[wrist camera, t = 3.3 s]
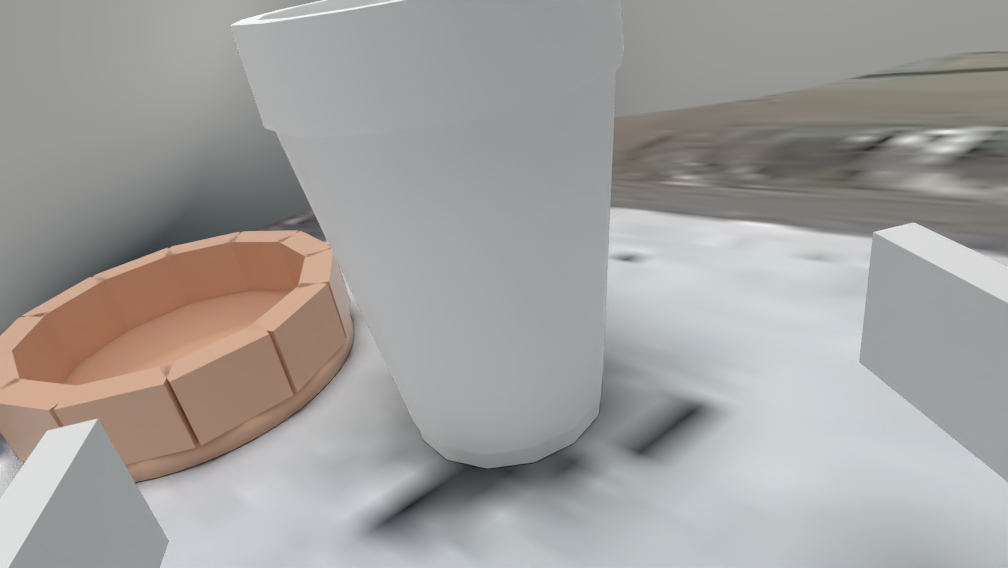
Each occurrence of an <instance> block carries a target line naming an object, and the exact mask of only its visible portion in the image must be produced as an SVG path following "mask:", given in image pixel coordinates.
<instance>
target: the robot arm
mask: <svg viewBox="0 0 1008 568" xmlns="http://www.w3.org/2000/svg"><path fill="white" fill-rule="evenodd" d="M859 362H860V363H861V364H862V365H864V366H865V367H866V368H867V369H869V370H870V371H871V372H872V373H874V374H875V375H876V376H877V377H878V378H880V379H881V380H882V381H883V382H885V383H886V384H887V385H888V386H890V387H891V388H892V389H893V390H895V391H896V392H897V393H898V394H900V395H901V396H902V397H903V398H904V399H906V400H907V401H908V402H909V403H911V404H912V405H913V406H914V407H916V408H917V409H918V410H919V411H921V412H922V413H923V414H924V415H926V416H927V417H928V418H929V419H930V420H932V421H933V422H934V423H935V424H937V425H938V426H939V427H940V428H942V429H943V430H944V431H945V432H947V433H948V434H949V435H950V436H951V437H953V438H954V439H955V440H956V441H958V442H959V443H960V444H961V445H963V446H964V447H965V448H966V449H968V450H969V451H970V452H971V453H973V454H974V455H975V456H976V457H977V458H979V459H980V460H981V461H982V462H984V463H985V464H986V465H987V466H989V467H990V468H991V469H992V470H994V471H995V472H996V473H997V474H999V475H1000V476H1001V477H1002V478H1003V479H1005V480H1006V481H1007V482H1008V267H1007V266H1005V265H1003V264H1001V263H999V262H997V261H994V260H992V259H990V258H988V257H986V256H984V255H982V254H980V253H978V252H975V251H973V250H971V249H969V248H967V247H965V246H963V245H961V244H958V243H956V242H954V241H952V240H950V239H948V238H946V237H944V236H941V235H939V234H937V233H935V232H933V231H931V230H929V229H927V228H924V227H922V226H920V225H918V224H916V223H909V224H905V225H901V226H897V227H893V228H889V229H884V230H880V231H876V232H873V241H872V250H871V259H870V268H869V277H868V287H867V296H866V305H865V314H864V324H863V333H862V342H861V351H860V360H859ZM168 542H169V540H168V539H167V537H166V535H165V534H164V532H163V530H162V528H161V527H160V525H159V523H158V521H157V520H156V518H155V516H154V515H153V513H152V511H151V509H150V508H149V506H148V504H147V502H146V501H145V499H144V497H143V496H142V494H141V492H140V490H139V489H138V487H137V485H136V483H135V482H134V480H133V478H132V477H131V475H130V473H129V471H128V470H127V468H126V466H125V464H124V463H123V461H122V459H121V458H120V456H119V454H118V452H117V451H116V449H115V447H114V445H113V444H112V442H111V440H110V439H109V437H108V435H107V433H106V432H105V430H104V428H103V426H102V425H101V423H100V421H99V420H98V419H94V420H90V421H85V422H81V423H77V424H73V425H69V426H65V427H60V428H56V429H52V430H48V431H47V432H46V433H45V434H44V436H43V437H42V439H41V440H40V442H39V443H38V445H37V446H36V447H35V449H34V450H33V452H32V453H31V455H30V456H29V457H28V459H27V460H26V462H25V463H24V465H23V466H22V468H21V469H20V470H19V472H18V473H17V475H16V476H15V478H14V479H13V481H12V482H11V483H10V485H9V486H8V488H7V489H6V491H5V492H4V494H3V495H2V496H1V498H0V568H160V565H161V562H162V559H163V556H164V553H165V550H166V548H167V545H168Z"/></svg>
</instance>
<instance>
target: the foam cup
mask: <svg viewBox="0 0 1008 568" xmlns="http://www.w3.org/2000/svg"><path fill="white" fill-rule="evenodd" d="M230 28H231V30H232V33H233V36H234V39H235V42H236V45H237V48H238V51H239V54H240V57H241V60H242V63H243V66H244V69H245V72H246V75H247V78H248V81H249V84H250V87H251V90H252V93H253V96H254V98H255V102H256V105H257V108H258V110H259V113H260V116H261V119H262V122H263V125H264V128H266V129H269V130H273V131H275V132H276V134H277V136H278V138H279V140H280V142H281V145H282V147H283V149H284V151H285V153H286V155H287V157H288V159H289V161H290V163H291V166H292V168H293V170H294V172H295V174H296V176H297V178H298V180H299V182H300V184H301V187H302V188H303V191H304V192H305V195H306V197H307V199H308V201H309V203H310V205H311V208H312V210H313V212H314V214H315V216H316V218H317V220H318V222H319V224H320V226H321V228H322V231H323V233H324V235H325V237H326V239H327V241H328V243H329V245H330V247H331V249H332V252H333V254H334V256H335V258H336V260H337V262H338V264H339V266H340V268H341V270H342V272H343V275H344V277H345V279H346V281H347V283H348V285H349V287H350V289H351V291H352V293H353V296H354V298H355V300H356V302H357V304H358V306H359V308H360V310H361V312H362V314H363V317H364V319H365V321H366V323H367V325H368V327H369V329H370V331H371V333H372V335H373V337H374V340H375V342H376V344H377V346H378V348H379V350H380V352H381V354H382V356H383V358H384V361H385V363H386V365H387V367H388V369H389V371H390V373H391V375H392V377H393V379H394V382H395V384H396V386H397V388H398V390H399V392H400V394H401V396H402V398H403V400H404V402H405V405H406V407H407V409H408V411H409V413H410V415H411V417H412V419H413V421H414V423H415V425H416V426H417V427H418V428H419V429H420V432H421V435H422V439H423V440H424V441H425V442H426V443H428V444H429V445H430V446H431V447H432V448H434V449H435V450H436V451H437V452H438V453H440V454H441V455H442V456H443V457H444V458H446V459H447V460H451V461H455V462H460V463H464V464H469V465H473V466H478V467H483V468H487V469H488V468H495V467H503V466H511V465H518V464H526V463H533V462H536V461H538V460H540V459H542V458H544V457H546V456H548V455H550V454H552V453H554V452H557V451H559V450H561V449H563V448H565V447H567V446H569V445H571V444H573V443H575V442H576V441H577V439H578V438H579V437H580V436H581V435H582V434H583V432H584V431H585V430H586V429H587V428H588V427H589V426H590V424H591V423H592V422H593V421H594V420H595V419H596V418H597V416H598V415H599V407H600V400H601V392H602V377H603V365H604V341H605V317H606V293H607V269H608V245H609V221H610V198H611V174H612V150H613V126H614V101H615V100H614V99H615V78H616V69H618V68H619V67H620V64H621V60H622V57H623V53H624V43H623V29H622V15H621V3H620V0H322V1H318V2H314V3H309V4H304V5H300V6H296V7H290V8H286V9H282V10H277V11H274V12H270V13H266V14H262V15H258V16H255V17H250V18H247V19H243V20H240V21H238V22H236V23H234V24H232V25H230Z"/></svg>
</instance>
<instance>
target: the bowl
mask: <svg viewBox="0 0 1008 568" xmlns="http://www.w3.org/2000/svg"><path fill="white" fill-rule="evenodd" d="M349 312H350V298H349V295H348V292H347V289H346V285H345V282H344V279H343V276H342V273H341V270H340V266H339V264H338V262H337V260H336V258H335V256H334V254H333V252H332V249H331V247H330V245H328V244H326V243H324V242H322V241H320V240H318V239H316V238H314V237H312V236H310V235H308V234H306V233H304V232H302V231H300V232H299V231H243V232H242V233H240V232H236V233H232V234H227V235H223V236H218V237H213V238H209V239H205V240H200V241H195V242H190V243H186V244H181V245H177V246H172V247H171V248H170V249H168V248H166V249H163V250H160V251H158V252H155V253H152V254H150V255H147V256H144V257H142V258H139V259H136V260H134V261H131V262H129V263H126V264H123V265H120V266H118V267H115V268H112V269H110V270H107V271H105V272H102V273H99V274H97V275H94V278H92V277H89V278H88V279H86V280H84V281H83V282H81V283H79V284H77V285H75V286H73V287H72V288H70V289H68V290H66V291H65V292H63V293H61V294H59V295H58V296H56V297H54V298H52V299H51V300H49V301H47V302H45V303H43V304H42V305H40V306H38V307H36V308H35V309H33V310H31V311H30V312H28V313H26V314H24V315H22V318H18V319H17V320H16V321H15V322H14V323H13V324H12V325H11V326H10V327H9V328H8V329H7V330H6V331H5V332H4V333H3V334H2V335H1V336H0V432H1V434H2V435H3V437H4V438H5V440H6V441H7V443H8V444H9V446H10V447H11V449H12V450H13V452H14V453H15V454H16V456H17V457H18V459H20V460H21V461H24V462H26V460H27V459H28V457H29V456H30V455H31V453H32V452H33V450H34V449H35V447H36V446H37V445H38V443H39V442H40V440H41V439H42V437H43V436H44V434H45V433H46V432H47V431H48V430H52V429H56V428H60V427H65V426H69V425H73V424H77V423H81V422H85V421H90V420H94V419H98V420H99V421H100V423H101V425H102V426H103V428H104V430H105V432H106V433H107V435H108V437H109V439H110V440H111V442H112V444H113V445H114V447H115V449H116V451H117V452H118V454H119V456H120V458H121V459H122V461H123V463H124V464H125V466H126V468H127V470H128V471H129V473H130V475H131V477H132V478H133V480H134V482H139V481H144V480H149V479H154V478H157V477H161V476H164V475H168V474H171V473H175V472H178V471H182V470H184V469H187V468H190V467H193V466H195V465H198V464H201V463H204V462H206V461H209V460H211V459H213V458H216V457H218V456H220V455H222V454H225V453H227V452H229V451H232V450H234V449H236V448H238V447H239V446H241V445H243V444H245V443H247V442H249V441H251V440H253V439H255V438H257V437H258V436H260V435H262V434H263V433H265V432H267V431H268V430H270V429H272V428H273V427H275V426H277V425H278V424H280V423H281V422H283V421H284V420H285V419H287V418H288V417H290V416H291V415H292V414H294V413H295V412H297V411H298V410H299V409H301V408H302V407H303V406H304V405H305V404H307V403H308V402H309V401H310V400H311V399H313V398H314V397H315V396H316V395H317V394H318V393H319V392H320V391H321V390H322V389H323V388H324V387H325V386H326V385H327V384H328V383H329V382H330V381H331V379H332V378H333V377H334V376H335V374H336V373H337V372H338V371H339V370H340V368H341V366H342V365H343V363H344V361H345V360H346V358H347V357H348V354H349V352H350V349H351V347H352V343H353V338H354V326H353V322H352V319H351V316H350V313H349Z"/></svg>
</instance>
